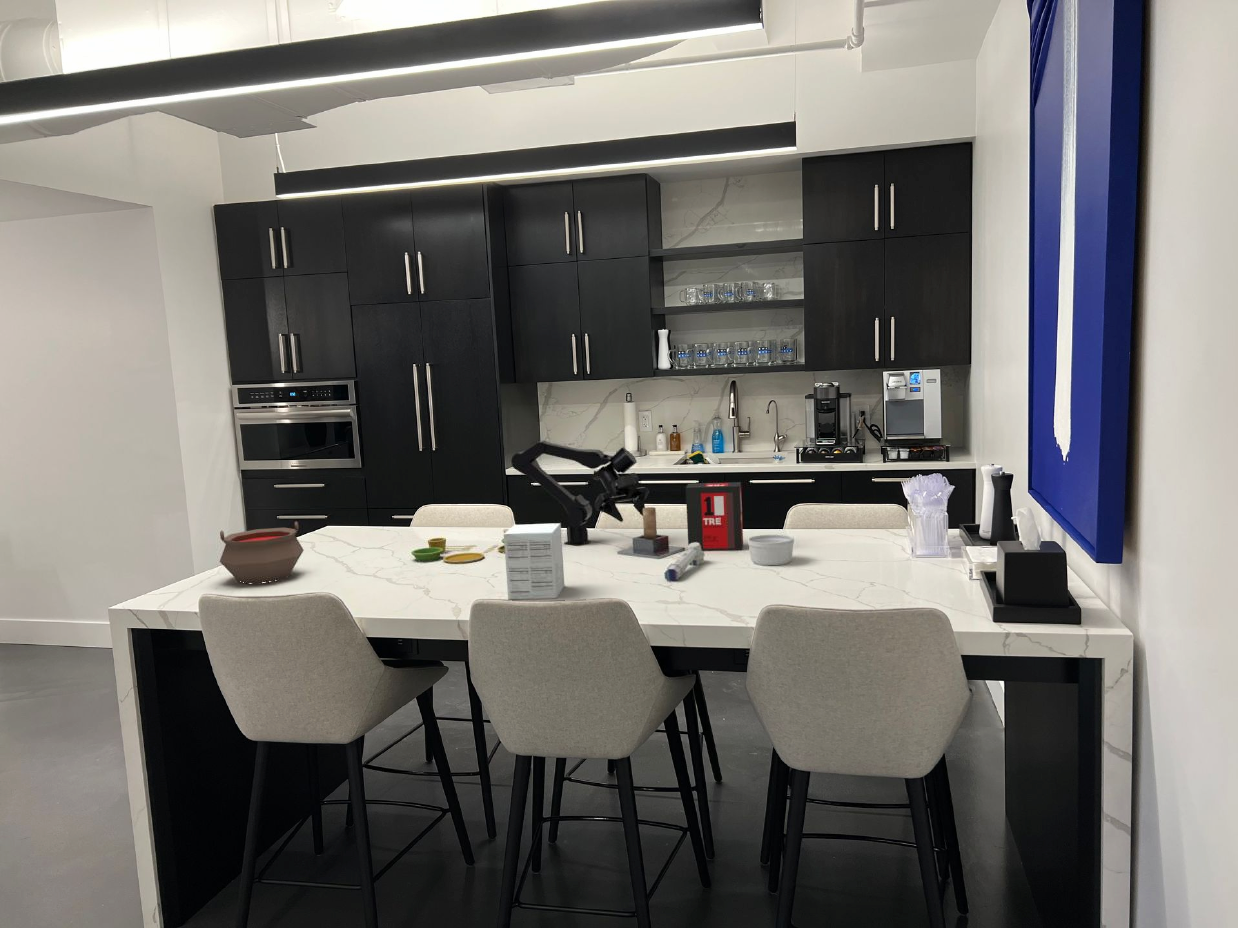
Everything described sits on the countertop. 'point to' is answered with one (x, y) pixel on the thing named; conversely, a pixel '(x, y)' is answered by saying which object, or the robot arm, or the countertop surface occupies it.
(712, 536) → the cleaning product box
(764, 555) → the ramekin
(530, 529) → the supplement box
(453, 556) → the tableware set
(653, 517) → the rail post
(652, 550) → the grey square socket base
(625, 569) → the countertop surface
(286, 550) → the brown cooking pot
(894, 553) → the countertop surface
